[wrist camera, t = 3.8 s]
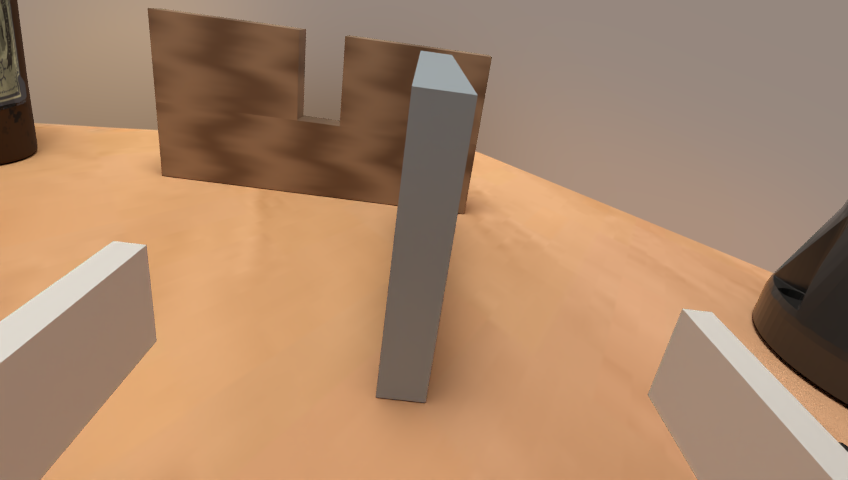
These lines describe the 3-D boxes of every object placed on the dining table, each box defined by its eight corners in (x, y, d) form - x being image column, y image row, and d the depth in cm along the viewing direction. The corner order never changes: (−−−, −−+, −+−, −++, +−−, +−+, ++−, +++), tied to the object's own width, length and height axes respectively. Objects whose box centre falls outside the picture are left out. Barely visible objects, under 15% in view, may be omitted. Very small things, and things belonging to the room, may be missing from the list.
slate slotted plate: (425, 402, 20) (477, 95, 15) (375, 397, 20) (411, 86, 15) (427, 228, 36) (452, 55, 31) (399, 225, 36) (420, 50, 31)
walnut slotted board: (462, 205, 42) (488, 55, 37) (464, 213, 40) (491, 57, 35) (174, 168, 41) (162, 8, 36) (162, 175, 39) (147, 8, 34)
